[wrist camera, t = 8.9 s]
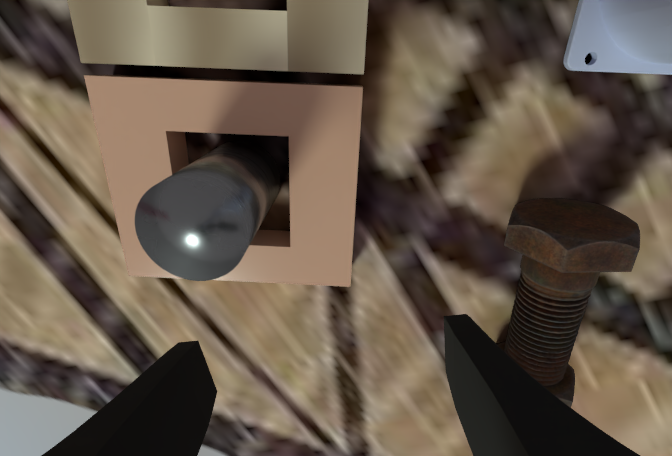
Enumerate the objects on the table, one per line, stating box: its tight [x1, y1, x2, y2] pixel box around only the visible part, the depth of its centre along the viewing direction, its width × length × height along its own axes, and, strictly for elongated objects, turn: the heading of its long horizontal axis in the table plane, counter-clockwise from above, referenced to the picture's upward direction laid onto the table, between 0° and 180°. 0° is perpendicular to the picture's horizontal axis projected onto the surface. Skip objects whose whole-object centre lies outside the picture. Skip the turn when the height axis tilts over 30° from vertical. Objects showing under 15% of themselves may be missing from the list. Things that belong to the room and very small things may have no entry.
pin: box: [135, 140, 281, 281], centre depth 16 cm, size 4×4×7 cm
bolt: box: [497, 198, 640, 408], centre depth 20 cm, size 6×5×15 cm
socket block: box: [84, 75, 363, 287], centre depth 18 cm, size 12×10×2 cm
